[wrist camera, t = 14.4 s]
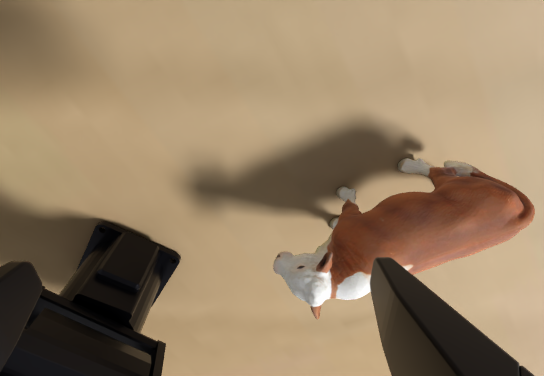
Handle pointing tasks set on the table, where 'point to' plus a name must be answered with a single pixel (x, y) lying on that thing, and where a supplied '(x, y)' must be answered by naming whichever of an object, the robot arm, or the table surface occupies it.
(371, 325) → the table surface
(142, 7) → the table surface
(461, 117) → the table surface
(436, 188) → the bull figurine
